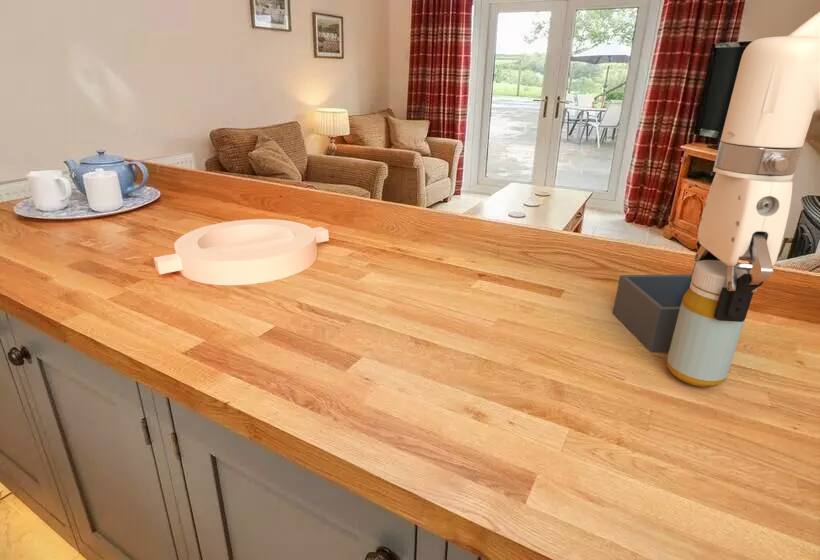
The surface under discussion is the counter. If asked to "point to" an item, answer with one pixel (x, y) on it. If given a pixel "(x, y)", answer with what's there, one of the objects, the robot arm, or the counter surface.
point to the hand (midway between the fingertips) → (714, 304)
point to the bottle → (704, 329)
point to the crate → (651, 307)
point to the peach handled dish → (244, 252)
